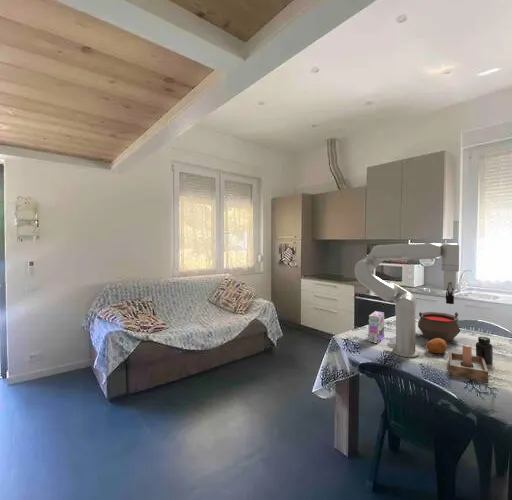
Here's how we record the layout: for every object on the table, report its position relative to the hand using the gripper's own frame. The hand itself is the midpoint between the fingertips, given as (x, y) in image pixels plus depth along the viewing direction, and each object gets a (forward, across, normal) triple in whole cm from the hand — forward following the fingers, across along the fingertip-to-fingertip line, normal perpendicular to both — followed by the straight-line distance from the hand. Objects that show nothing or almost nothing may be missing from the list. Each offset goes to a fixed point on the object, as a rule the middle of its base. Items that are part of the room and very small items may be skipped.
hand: (449, 301), depth 153 cm
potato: (+31, -9, -6) cm, 32 cm away
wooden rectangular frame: (+30, +9, +7) cm, 32 cm away
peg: (+30, +7, +7) cm, 32 cm away
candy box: (+31, -14, -37) cm, 50 cm away
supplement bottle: (+31, -7, +15) cm, 35 cm away
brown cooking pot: (+31, -36, -5) cm, 47 cm away
